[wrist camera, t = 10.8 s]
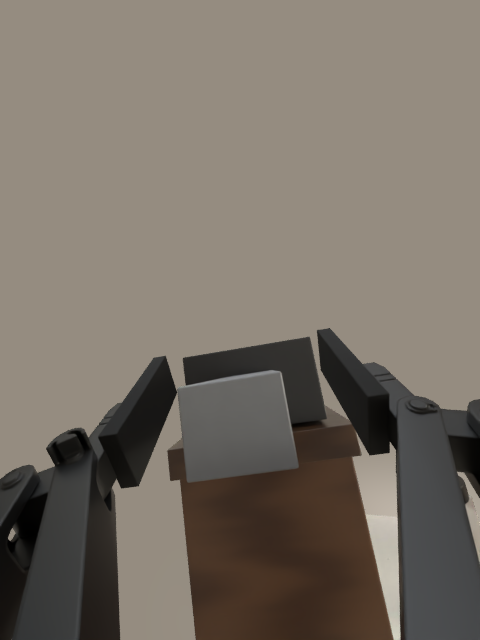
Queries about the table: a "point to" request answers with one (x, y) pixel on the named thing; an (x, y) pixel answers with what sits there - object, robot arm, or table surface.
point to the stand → (284, 546)
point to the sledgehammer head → (247, 408)
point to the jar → (471, 516)
